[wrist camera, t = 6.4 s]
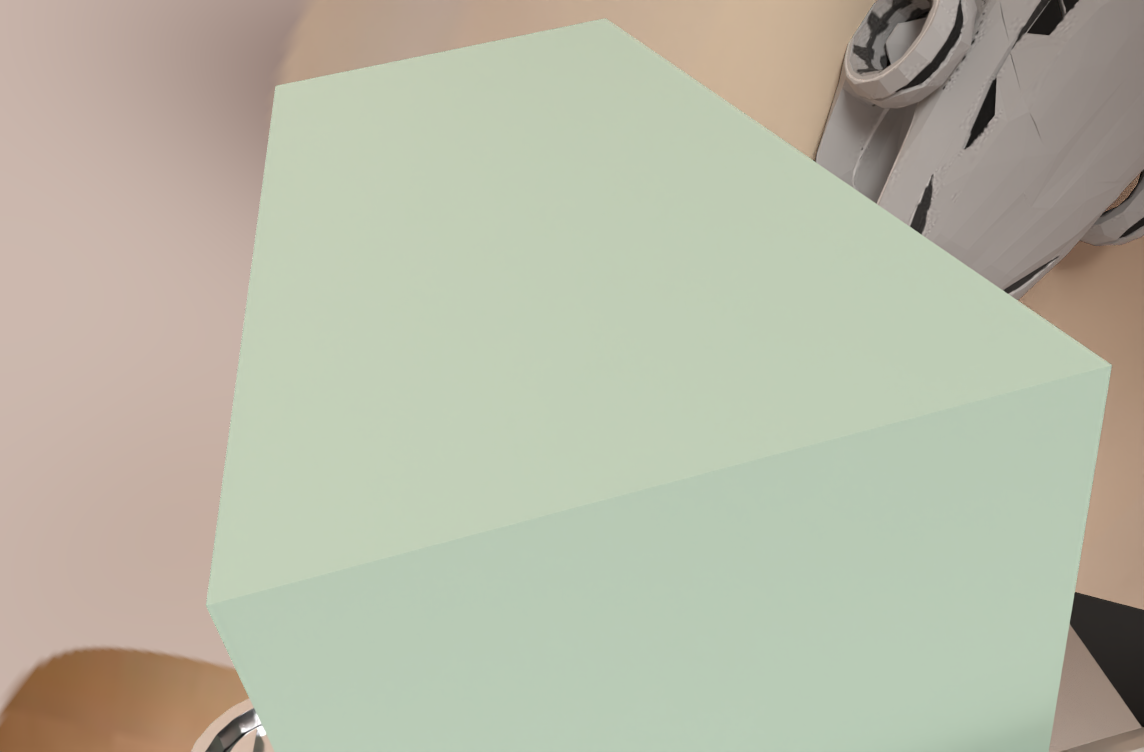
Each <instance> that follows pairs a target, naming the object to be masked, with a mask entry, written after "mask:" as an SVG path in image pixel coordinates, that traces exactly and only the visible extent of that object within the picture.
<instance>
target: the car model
mask: <svg viewBox="0 0 1144 752" xmlns="http://www.w3.org/2000/svg"><path fill="white" fill-rule="evenodd" d="M1058 1H1059V2H1058ZM1059 5H1060V6H1059ZM1060 9H1061V10H1060ZM1061 13H1062V14H1061ZM1028 33H1030V34H1028ZM1039 34H1040V35H1039ZM847 53H848V54H847ZM888 61H890V63H889V64H888ZM887 64H888V66H887ZM848 70H849V71H848ZM847 73H848V74H847ZM854 77H855V78H854ZM860 79H861V80H860ZM816 163H818V164H819V165H820V166H822V167H823V168H825V169H826V170H828V171H829V172H831V173H832V174H834V175H835V176H837V177H838V178H839V179H841V180H842V181H844V182H845V183H847V184H848V185H850V186H851V187H853V188H854V189H856V190H857V191H858V192H860V193H861V194H863V195H864V196H866V197H867V198H869V199H870V200H872V201H873V202H875V203H876V204H877V205H879V206H880V207H882V208H883V209H885V210H886V211H888V212H889V213H891V214H892V215H894V216H895V217H896V218H898V219H899V220H901V221H902V222H904V223H905V224H907V225H908V226H910V227H911V228H912V229H914V230H915V231H917V232H918V233H920V234H921V235H923V236H924V237H926V238H927V239H929V240H930V241H931V242H933V243H934V244H936V245H937V246H939V247H940V248H942V249H943V250H945V251H946V252H948V253H949V254H950V255H952V256H953V257H955V258H956V259H958V260H959V261H961V262H962V263H964V264H965V265H967V266H968V267H969V268H971V269H972V270H974V271H975V272H977V273H978V274H980V275H981V276H983V277H984V278H986V279H987V280H988V281H990V282H991V283H993V284H994V285H996V286H997V287H999V288H1000V289H1002V290H1003V291H1004V292H1006V293H1007V294H1009V295H1010V296H1012V297H1013V298H1015V299H1016V300H1019V299H1020V298H1021V297H1022V296H1023V295H1024V294H1025V293H1026V292H1027V291H1028V290H1029V289H1031V288H1032V287H1033V286H1034V285H1035V284H1036V283H1037V282H1038V281H1039V280H1040V279H1041V278H1042V277H1043V276H1045V275H1046V274H1047V273H1048V272H1049V271H1050V270H1051V269H1052V268H1053V267H1054V266H1055V265H1056V264H1057V263H1058V262H1060V261H1061V260H1062V259H1063V258H1064V257H1065V256H1066V255H1067V254H1068V253H1069V252H1070V251H1071V250H1072V248H1073V247H1074V246H1075V245H1076V244H1077V243H1078V241H1082V242H1085V243H1088V244H1091V245H1094V246H1103V245H1122V244H1125V243H1127V242H1130V241H1132V240H1135V239H1137V238H1140V237H1142V236H1143V235H1144V0H877V1H876V3H874V4H873V6H872V7H871V9H870V10H869V12H868V14H867V15H866V17H865V18H864V20H863V21H862V23H861V24H860V26H859V27H858V29H857V30H856V32H855V33H854V35H853V37H852V39H851V40H850V41H849V44H848V45H847V49H846V53H845V58H844V62H843V66H842V71H841V75H840V79H839V83H838V87H837V90H836V93H835V96H834V100H833V103H832V106H831V109H830V113H829V116H828V119H827V122H826V125H825V129H824V132H823V135H822V138H821V142H820V145H819V148H818V151H817V156H816ZM1140 172H1141V174H1140ZM1139 174H1140V177H1139V181H1138V184H1137V185H1136V187H1135V188H1134V190H1133V191H1132V192H1131V194H1130V195H1129V197H1128V198H1127V199H1126V200H1124V201H1123V202H1122V203H1121V204H1120V205H1119V206H1117V207H1115V208H1113V209H1110V210H1108V211H1106V212H1104V211H1105V210H1106V209H1107V208H1108V207H1109V206H1110V205H1111V204H1112V203H1113V202H1114V201H1116V199H1117V198H1118V197H1119V195H1120V194H1121V193H1122V191H1123V190H1124V189H1125V188H1126V187H1127V186H1128V185H1129V184H1130V183H1131V182H1132V181H1133V180H1134V179H1135V178H1136V177H1137V176H1138V175H1139Z"/></svg>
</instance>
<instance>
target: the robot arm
mask: <svg viewBox="0 0 1144 752" xmlns="http://www.w3.org/2000/svg"><path fill="white" fill-rule="evenodd" d="M191 752H274V749H273V747H272V745H271V743H270V741H269V739H268V737H267V735H266V732H265V730H264V728H263V726H262V724H261V722H260V720H259V718H258V715H257V713H256V711H255V709H254V707H253V705H252V703H251V701H250V698H249V699H247V700H245V701H243V702H241V703H239V704H237V705H235V706H233V707H231V708H230V709H229V710H228V711H226V712H225V713H224V714H222V715H221V716H220V717H219V718H217V719H216V720H215V721H214V722H212V723H211V724H210V726H209V727H208V728H207V729H206V730H205V732H204V733H203V734H202V735H201V736H200V738H199V739H198V740H197V741H196V742H195V745H194V747H193V749H192V751H191ZM1049 752H1144V610H1142V609H1138V608H1134V607H1130V606H1126V605H1122V604H1119V603H1115V602H1111V601H1107V600H1103V599H1099V598H1096V597H1092V596H1088V595H1084V594H1080V593H1076V592H1075V594H1074V600H1073V606H1072V612H1071V618H1070V624H1069V630H1068V636H1067V642H1066V649H1065V655H1064V661H1063V667H1062V673H1061V679H1060V685H1059V691H1058V697H1057V703H1056V710H1055V716H1054V722H1053V728H1052V734H1051V740H1050V746H1049Z"/></svg>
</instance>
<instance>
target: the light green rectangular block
mask: <svg viewBox="0 0 1144 752" xmlns="http://www.w3.org/2000/svg"><path fill="white" fill-rule="evenodd" d="M1111 368H1112V365H1111V364H1110V363H1108V362H1107V361H1105V360H1104V359H1102V358H1101V357H1099V356H1098V355H1096V354H1095V353H1094V352H1092V351H1091V350H1089V349H1088V348H1086V347H1085V346H1083V345H1082V344H1080V343H1079V342H1077V341H1076V340H1075V339H1073V338H1072V337H1070V336H1069V335H1067V334H1066V333H1064V332H1063V331H1061V330H1060V329H1059V328H1057V327H1056V326H1054V325H1053V324H1051V323H1050V322H1048V321H1047V320H1045V319H1044V318H1042V317H1041V316H1040V315H1038V314H1037V313H1035V312H1034V311H1032V310H1031V309H1029V308H1028V307H1026V306H1025V305H1023V304H1022V303H1021V302H1019V301H1018V300H1016V299H1015V298H1013V297H1012V296H1010V295H1009V294H1007V293H1006V292H1004V291H1003V290H1002V289H1000V288H999V287H997V286H996V285H994V284H993V283H991V282H990V281H988V280H987V279H986V278H984V277H983V276H981V275H980V274H978V273H977V272H975V271H974V270H972V269H971V268H969V267H968V266H967V265H965V264H964V263H962V262H961V261H959V260H958V259H956V258H955V257H953V256H952V255H950V254H949V253H948V252H946V251H945V250H943V249H942V248H940V247H939V246H937V245H936V244H934V243H933V242H931V241H930V240H929V239H927V238H926V237H924V236H923V235H921V234H920V233H918V232H917V231H915V230H914V229H912V228H911V227H910V226H908V225H907V224H905V223H904V222H902V221H901V220H899V219H898V218H896V217H895V216H894V215H892V214H891V213H889V212H888V211H886V210H885V209H883V208H882V207H880V206H879V205H877V204H876V203H875V202H873V201H872V200H870V199H869V198H867V197H866V196H864V195H863V194H861V193H860V192H858V191H857V190H856V189H854V188H853V187H851V186H850V185H848V184H847V183H845V182H844V181H842V180H841V179H839V178H838V177H837V176H835V175H834V174H832V173H831V172H829V171H828V170H826V169H825V168H823V167H822V166H820V165H819V164H818V163H816V162H815V161H813V160H812V159H810V158H809V157H807V156H806V155H804V154H803V153H802V152H800V151H799V150H797V149H796V148H794V147H793V146H791V145H790V144H788V143H787V142H785V141H784V140H783V139H781V138H780V137H778V136H777V135H775V134H774V133H772V132H771V131H769V130H768V129H766V128H765V127H764V126H762V125H761V124H759V123H758V122H756V121H755V120H753V119H752V118H750V117H749V116H747V115H746V114H745V113H743V112H742V111H740V110H739V109H737V108H736V107H734V106H733V105H731V104H730V103H728V102H727V101H726V100H724V99H723V98H721V97H720V96H718V95H717V94H715V93H714V92H712V91H711V90H710V89H708V88H707V87H705V86H704V85H702V84H701V83H699V82H698V81H696V80H695V79H693V78H692V77H691V76H689V75H688V74H686V73H685V72H683V71H682V70H680V69H679V68H677V67H676V66H674V65H673V64H672V63H670V62H669V61H667V60H666V59H664V58H663V57H661V56H660V55H658V54H657V53H655V52H654V51H653V50H651V49H650V48H648V47H647V46H645V45H644V44H642V43H641V42H639V41H638V40H636V39H635V38H634V37H632V36H631V35H629V34H628V33H626V32H625V31H623V30H622V29H620V28H619V27H618V26H616V25H615V24H613V23H612V22H610V21H609V20H607V19H606V18H605V19H600V20H595V21H590V22H585V23H581V24H576V25H571V26H566V27H561V28H556V29H551V30H546V31H542V32H537V33H532V34H527V35H522V36H517V37H512V38H507V39H502V40H498V41H493V42H488V43H483V44H478V45H473V46H468V47H463V48H459V49H454V50H449V51H444V52H439V53H434V54H429V55H424V56H419V57H415V58H410V59H405V60H400V61H395V62H390V63H385V64H380V65H376V66H371V67H366V68H361V69H356V70H351V71H346V72H341V73H336V74H332V75H327V76H322V77H317V78H312V79H307V80H302V81H297V82H293V83H288V84H283V85H278V86H276V87H275V95H274V102H273V109H272V117H271V124H270V132H269V139H268V147H267V154H266V162H265V170H264V177H263V184H262V191H261V199H260V207H259V215H258V221H257V229H256V237H255V245H254V251H253V259H252V266H251V274H250V281H249V289H248V297H247V303H246V311H245V318H244V326H243V333H242V341H241V348H240V355H239V363H238V370H237V378H236V385H235V393H234V400H233V408H232V415H231V423H230V430H229V438H228V445H227V453H226V461H225V467H224V475H223V482H222V490H221V497H220V505H219V512H218V519H217V527H216V535H215V542H214V549H213V557H212V564H211V572H210V580H209V586H208V594H207V602H206V607H207V609H208V611H209V613H210V615H211V617H212V620H213V622H214V624H215V626H216V628H217V630H218V632H219V635H220V637H221V639H222V641H223V643H224V645H225V647H226V649H227V652H228V654H229V656H230V658H231V660H232V662H233V664H234V666H235V669H236V671H237V673H238V675H239V677H240V679H241V681H242V684H243V686H244V688H245V690H246V692H247V694H248V696H249V698H250V701H251V703H252V705H253V707H254V709H255V711H256V713H257V715H258V718H259V720H260V722H261V724H262V726H263V728H264V730H265V732H266V735H267V737H268V739H269V741H270V743H271V745H272V747H273V749H274V752H1049V746H1050V740H1051V734H1052V728H1053V722H1054V716H1055V710H1056V703H1057V697H1058V691H1059V685H1060V679H1061V673H1062V667H1063V661H1064V655H1065V649H1066V642H1067V636H1068V630H1069V624H1070V618H1071V612H1072V606H1073V600H1074V594H1075V587H1076V581H1077V575H1078V569H1079V563H1080V557H1081V551H1082V545H1083V539H1084V533H1085V526H1086V520H1087V514H1088V508H1089V502H1090V496H1091V490H1092V484H1093V478H1094V472H1095V465H1096V459H1097V453H1098V447H1099V441H1100V435H1101V429H1102V423H1103V417H1104V411H1105V404H1106V398H1107V392H1108V386H1109V380H1110V374H1111Z"/></svg>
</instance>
